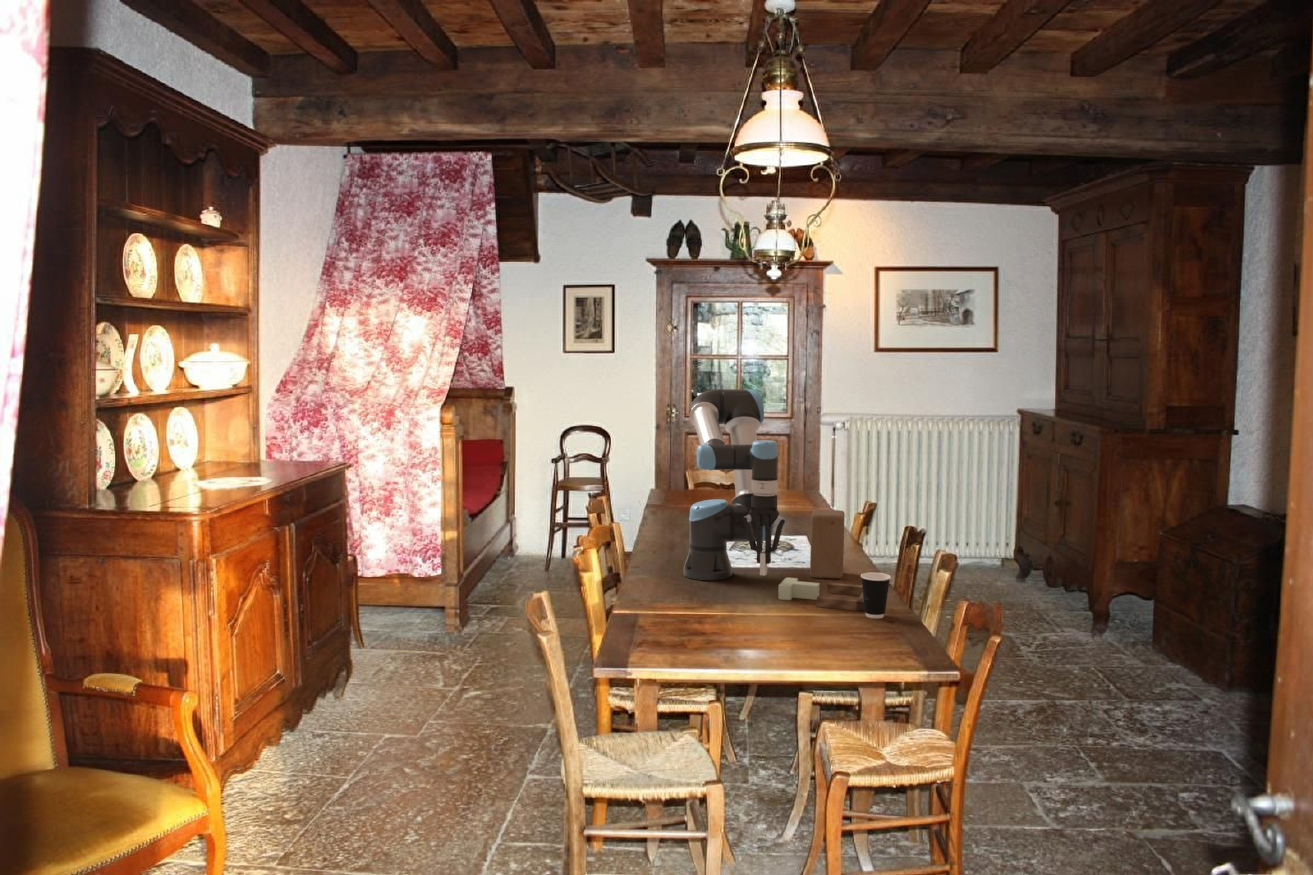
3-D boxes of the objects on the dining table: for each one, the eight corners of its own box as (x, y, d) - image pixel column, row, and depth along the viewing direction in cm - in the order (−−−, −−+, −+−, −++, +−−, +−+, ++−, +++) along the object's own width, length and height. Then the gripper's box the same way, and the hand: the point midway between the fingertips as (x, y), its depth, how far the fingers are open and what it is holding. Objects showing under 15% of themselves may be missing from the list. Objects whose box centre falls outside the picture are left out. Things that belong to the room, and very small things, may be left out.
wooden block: (842, 579, 307) (844, 515, 305) (809, 578, 309) (811, 514, 307) (843, 572, 317) (844, 510, 315) (811, 570, 319) (812, 508, 317)
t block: (778, 599, 285) (778, 585, 285) (786, 590, 294) (786, 577, 294) (814, 602, 281) (815, 588, 281) (821, 593, 291) (821, 580, 290)
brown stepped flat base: (816, 606, 277) (816, 597, 277) (828, 590, 294) (828, 582, 294) (863, 611, 273) (864, 602, 273) (873, 594, 290) (873, 586, 289)
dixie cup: (853, 615, 269) (854, 575, 267) (870, 610, 274) (871, 570, 273) (878, 621, 263) (879, 580, 262) (895, 616, 268) (896, 575, 267)
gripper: (739, 494, 287) (738, 575, 289) (783, 497, 283) (782, 578, 285) (745, 491, 294) (745, 569, 296) (789, 493, 290) (788, 573, 292)
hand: (763, 574), depth 291 cm, fingers closed
